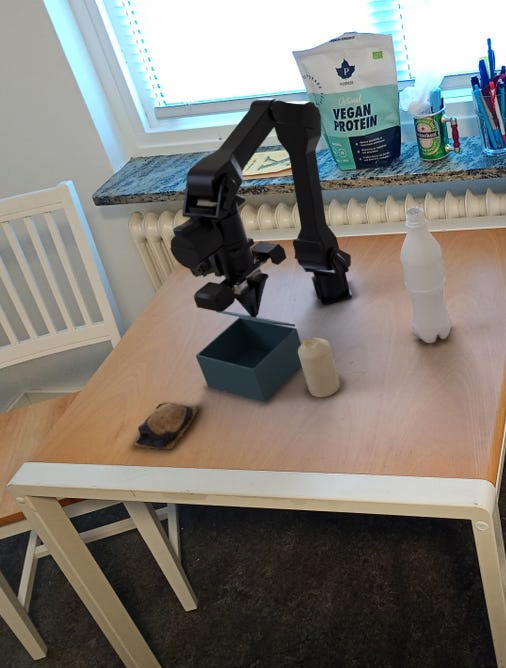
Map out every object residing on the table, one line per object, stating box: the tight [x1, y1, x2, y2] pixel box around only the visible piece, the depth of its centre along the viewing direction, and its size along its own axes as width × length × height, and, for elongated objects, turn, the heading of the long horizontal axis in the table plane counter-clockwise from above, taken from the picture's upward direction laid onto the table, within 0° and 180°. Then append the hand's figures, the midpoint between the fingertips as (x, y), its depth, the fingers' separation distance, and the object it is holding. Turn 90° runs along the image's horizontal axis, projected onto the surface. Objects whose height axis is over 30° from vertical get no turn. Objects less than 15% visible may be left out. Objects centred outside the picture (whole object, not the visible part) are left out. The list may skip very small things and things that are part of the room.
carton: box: [195, 317, 302, 404], centre depth 132 cm, size 13×14×7 cm
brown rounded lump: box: [134, 402, 199, 451], centre depth 125 cm, size 11×8×4 cm
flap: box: [215, 310, 296, 328], centre depth 131 cm, size 6×14×1 cm
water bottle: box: [400, 206, 452, 344], centre depth 126 cm, size 7×7×25 cm
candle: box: [298, 337, 341, 398], centre depth 124 cm, size 6×6×10 cm
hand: (254, 315), depth 130 cm, fingers closed
